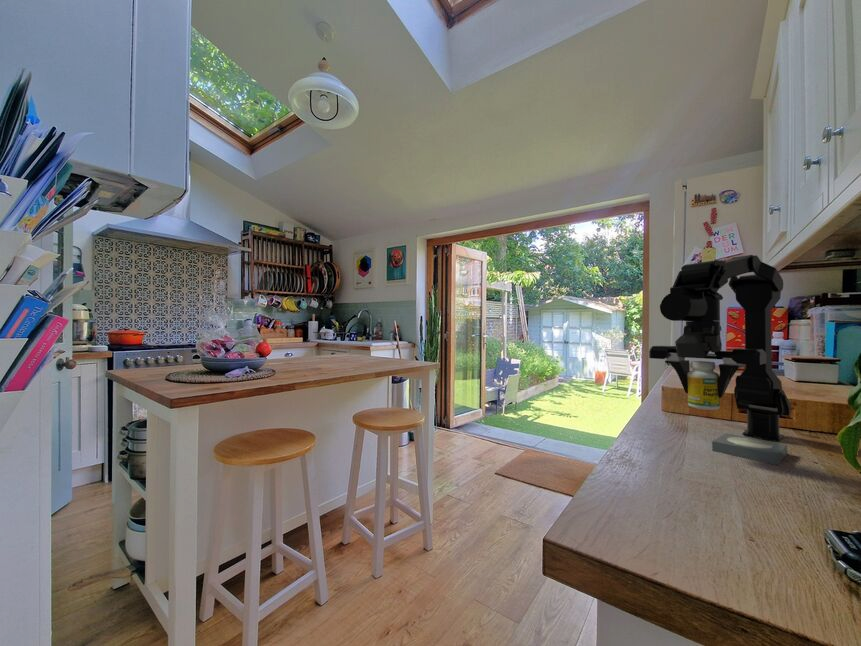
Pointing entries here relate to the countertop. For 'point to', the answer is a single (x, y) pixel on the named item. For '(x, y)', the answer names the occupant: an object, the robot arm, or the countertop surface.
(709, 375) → the supplement bottle
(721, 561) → the countertop surface
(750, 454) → the slate base
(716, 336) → the robot arm
